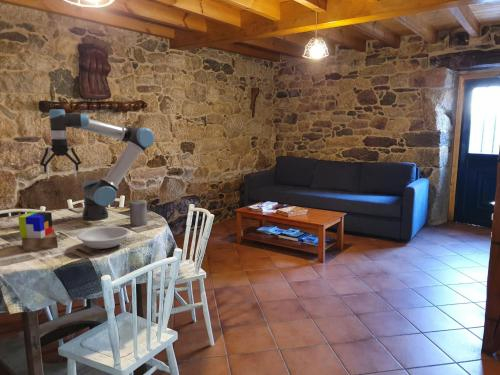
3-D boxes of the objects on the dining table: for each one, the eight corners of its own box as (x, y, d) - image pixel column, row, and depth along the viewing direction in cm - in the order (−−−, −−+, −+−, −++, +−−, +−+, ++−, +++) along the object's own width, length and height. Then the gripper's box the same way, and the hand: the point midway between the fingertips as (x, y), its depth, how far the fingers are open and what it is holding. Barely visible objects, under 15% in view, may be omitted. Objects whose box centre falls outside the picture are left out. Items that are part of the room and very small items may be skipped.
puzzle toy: (41, 238, 179) (39, 217, 178) (20, 237, 180) (18, 217, 178) (53, 232, 189) (51, 212, 187) (33, 231, 190) (31, 212, 188)
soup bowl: (140, 240, 195) (139, 228, 193) (113, 257, 172) (112, 242, 170) (98, 237, 200) (97, 224, 199) (66, 252, 177) (65, 238, 176)
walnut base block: (54, 240, 195) (53, 229, 194) (57, 248, 184) (56, 236, 183) (22, 245, 188) (21, 233, 187) (23, 253, 176) (22, 241, 175)
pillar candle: (130, 222, 228) (128, 198, 225) (147, 221, 231) (146, 197, 228) (130, 227, 219) (129, 201, 216) (148, 225, 222) (147, 200, 219)
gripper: (31, 139, 199) (35, 179, 203) (84, 138, 208) (86, 177, 211) (33, 138, 206) (37, 177, 209) (84, 137, 214) (87, 175, 218)
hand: (62, 177), depth 210 cm, fingers open, 13 cm apart
